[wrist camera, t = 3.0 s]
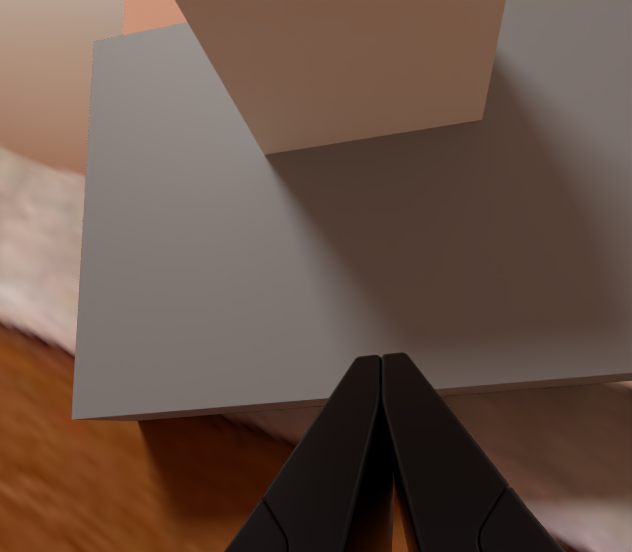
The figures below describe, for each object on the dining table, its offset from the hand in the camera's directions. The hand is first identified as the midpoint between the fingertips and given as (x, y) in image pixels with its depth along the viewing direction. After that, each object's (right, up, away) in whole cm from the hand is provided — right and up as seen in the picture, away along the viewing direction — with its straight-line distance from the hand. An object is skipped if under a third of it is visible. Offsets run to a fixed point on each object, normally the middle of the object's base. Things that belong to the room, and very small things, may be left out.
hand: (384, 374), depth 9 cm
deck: (+1, +4, +12) cm, 12 cm away
